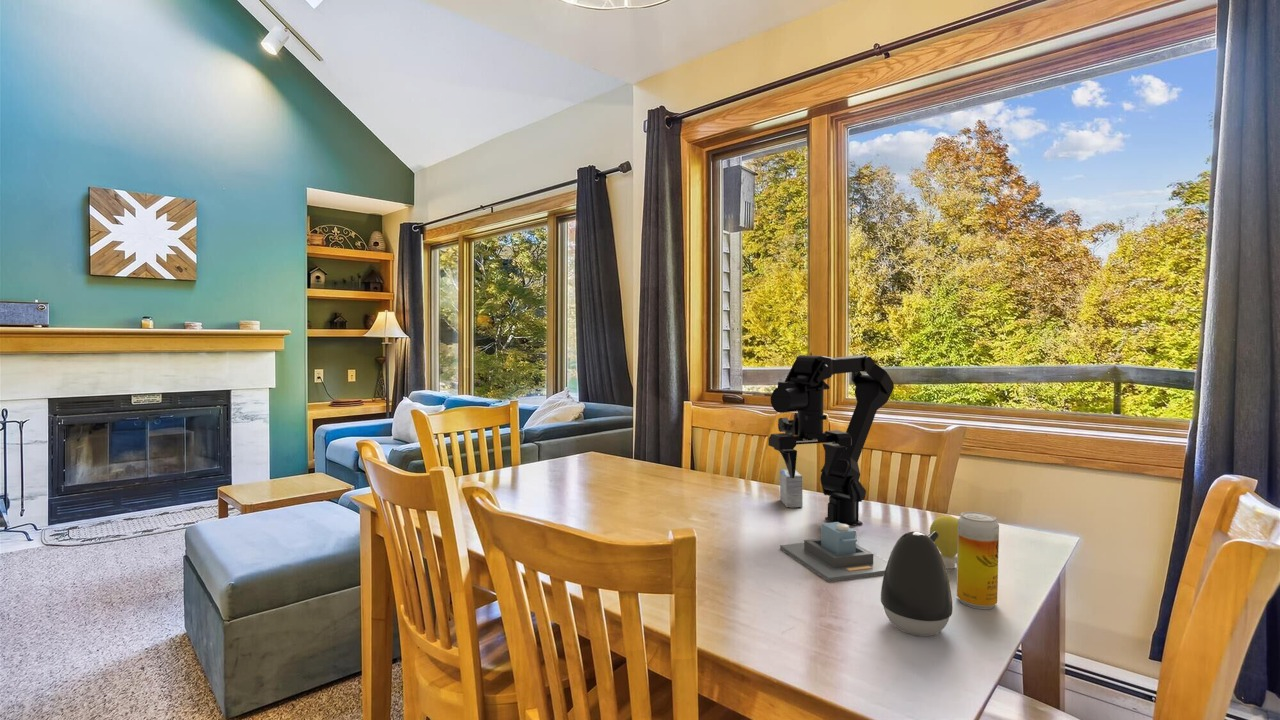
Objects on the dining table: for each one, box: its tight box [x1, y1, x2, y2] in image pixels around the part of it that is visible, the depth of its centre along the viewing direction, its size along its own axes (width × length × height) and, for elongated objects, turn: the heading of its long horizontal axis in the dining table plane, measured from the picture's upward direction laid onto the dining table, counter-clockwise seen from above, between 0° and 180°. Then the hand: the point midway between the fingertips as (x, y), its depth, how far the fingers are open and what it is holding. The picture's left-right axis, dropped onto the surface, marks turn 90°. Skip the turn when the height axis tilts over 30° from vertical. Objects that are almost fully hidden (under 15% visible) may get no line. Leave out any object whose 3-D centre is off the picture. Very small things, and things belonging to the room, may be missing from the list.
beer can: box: [956, 511, 1000, 610], centre depth 102 cm, size 6×6×15 cm
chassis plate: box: [779, 537, 888, 583], centre depth 122 cm, size 16×18×3 cm
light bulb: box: [929, 515, 959, 569], centre depth 119 cm, size 7×7×10 cm
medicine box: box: [779, 468, 804, 508], centre depth 163 cm, size 8×4×9 cm, turn 179°
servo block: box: [819, 522, 858, 555], centre depth 122 cm, size 4×8×7 cm, turn 16°
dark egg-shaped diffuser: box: [880, 530, 953, 637], centre depth 94 cm, size 10×10×15 cm
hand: (809, 476), depth 139 cm, fingers open, 9 cm apart
